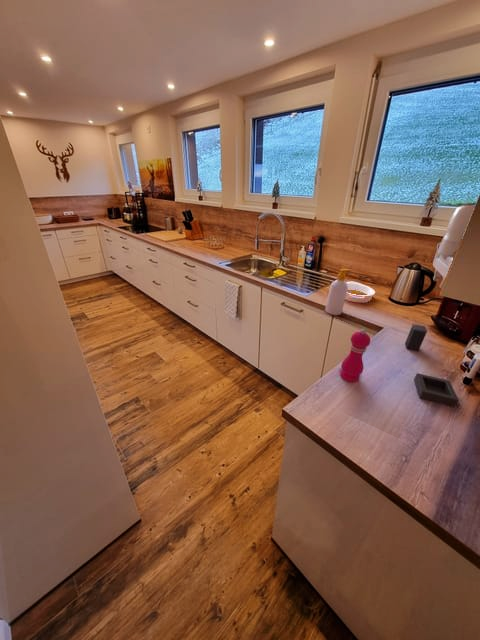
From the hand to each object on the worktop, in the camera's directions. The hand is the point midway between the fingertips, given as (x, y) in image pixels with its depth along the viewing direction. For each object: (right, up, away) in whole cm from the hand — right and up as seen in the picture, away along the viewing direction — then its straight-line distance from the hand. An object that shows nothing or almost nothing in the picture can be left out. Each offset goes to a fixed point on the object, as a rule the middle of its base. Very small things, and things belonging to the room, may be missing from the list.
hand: (438, 284), depth 104 cm
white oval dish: (-8, 0, +59) cm, 60 cm away
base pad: (-13, -39, -15) cm, 44 cm away
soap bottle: (-28, -10, +38) cm, 49 cm away
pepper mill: (-39, -35, -9) cm, 54 cm away
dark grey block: (-5, -26, +10) cm, 28 cm away
